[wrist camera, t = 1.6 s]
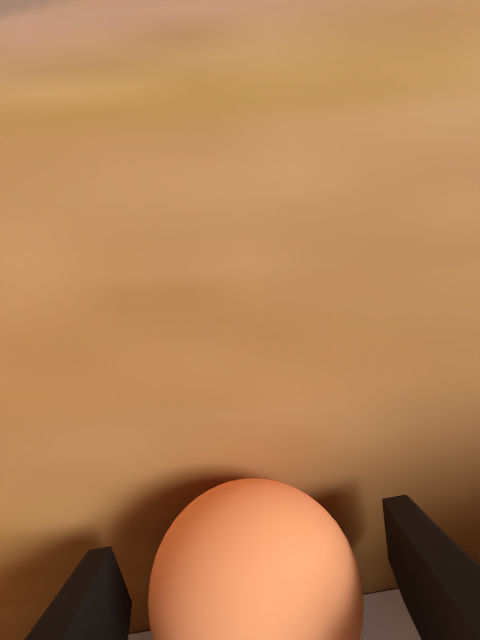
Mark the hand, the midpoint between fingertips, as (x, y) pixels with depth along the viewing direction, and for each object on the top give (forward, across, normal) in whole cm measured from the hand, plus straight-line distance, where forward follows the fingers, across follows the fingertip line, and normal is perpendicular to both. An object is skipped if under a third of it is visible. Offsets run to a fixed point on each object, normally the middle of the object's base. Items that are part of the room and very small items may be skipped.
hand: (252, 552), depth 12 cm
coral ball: (-1, 0, 0) cm, 1 cm away
